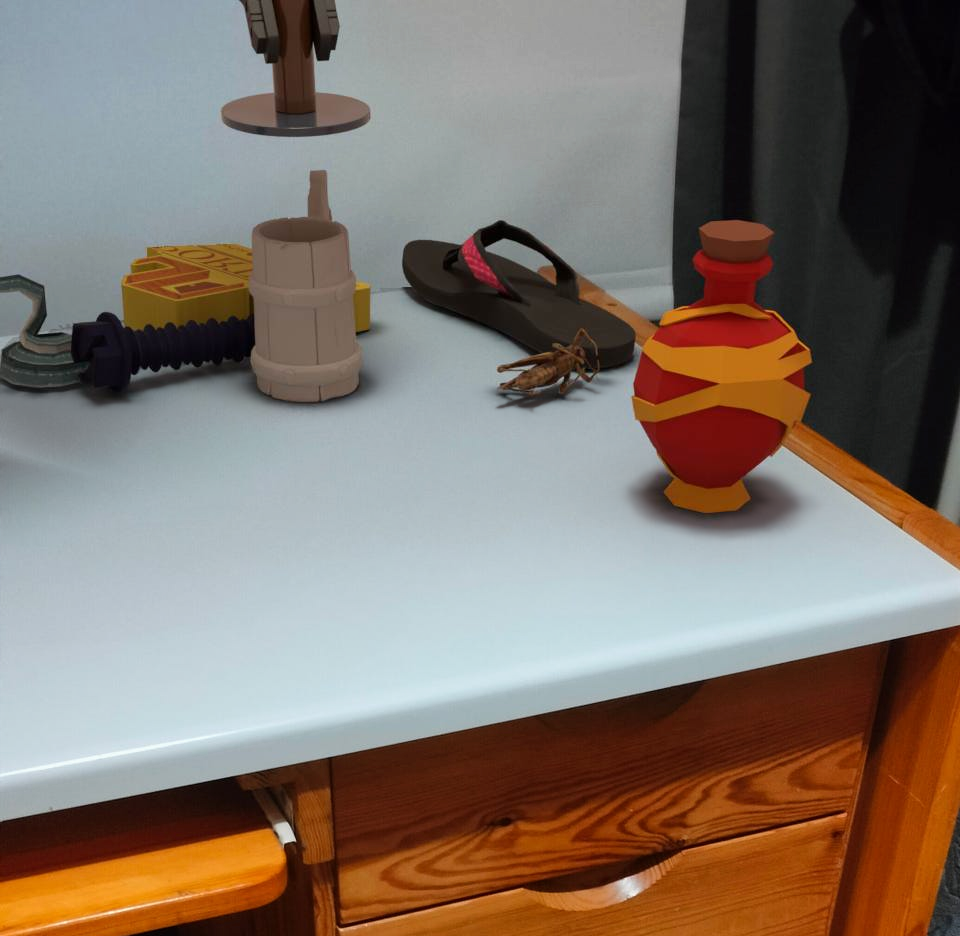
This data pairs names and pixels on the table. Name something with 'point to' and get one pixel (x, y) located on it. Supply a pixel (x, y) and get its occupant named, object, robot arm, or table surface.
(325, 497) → the table surface
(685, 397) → the potion bottle
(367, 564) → the table surface
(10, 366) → the stylized snake
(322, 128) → the lid
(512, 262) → the sandal
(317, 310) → the mug
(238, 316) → the decorative sign
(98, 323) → the screw
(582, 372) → the insect
